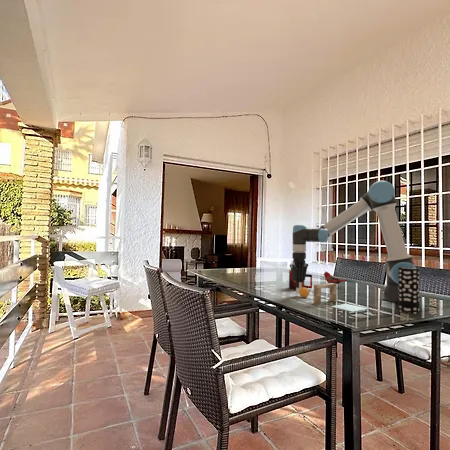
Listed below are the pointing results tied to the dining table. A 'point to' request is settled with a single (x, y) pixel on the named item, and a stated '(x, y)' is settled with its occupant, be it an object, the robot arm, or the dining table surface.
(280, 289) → the dining table surface
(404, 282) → the white-spotted black cylinder
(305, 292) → the ball
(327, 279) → the decorative bird figurine
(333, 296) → the bridge
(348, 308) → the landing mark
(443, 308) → the dining table surface
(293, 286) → the mug
